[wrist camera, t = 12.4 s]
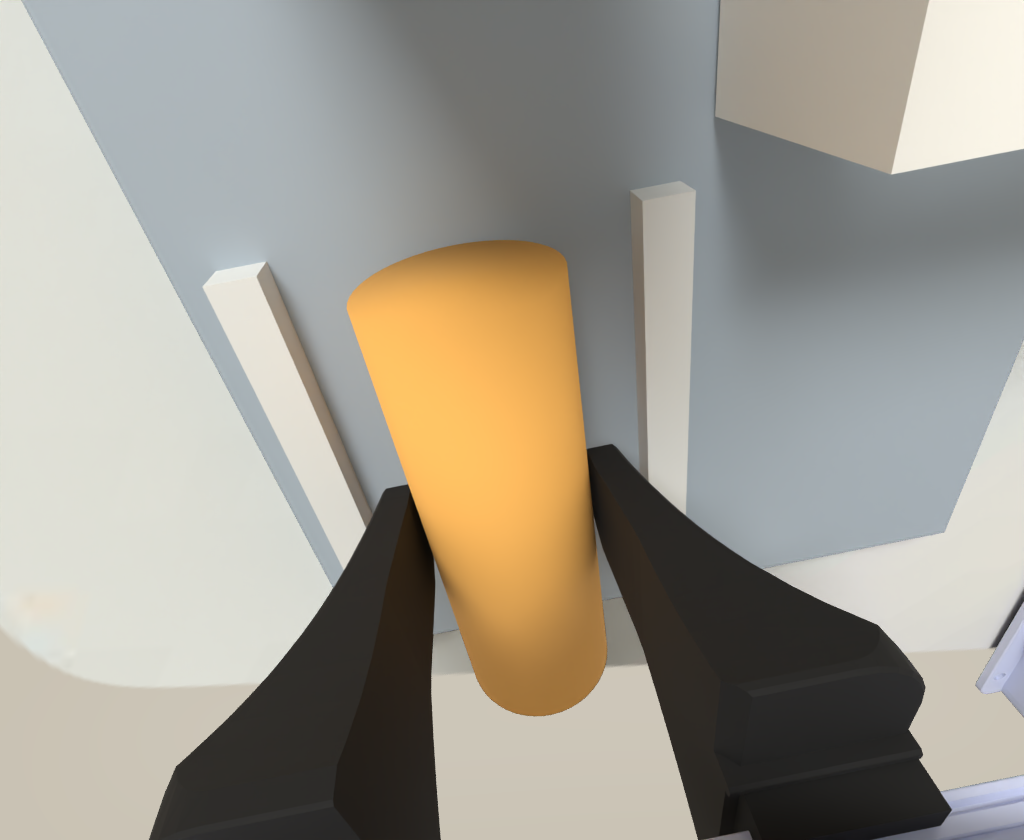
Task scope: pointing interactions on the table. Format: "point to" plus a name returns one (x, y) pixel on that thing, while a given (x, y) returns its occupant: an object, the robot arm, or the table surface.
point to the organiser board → (560, 249)
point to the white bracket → (877, 77)
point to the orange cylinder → (495, 456)
